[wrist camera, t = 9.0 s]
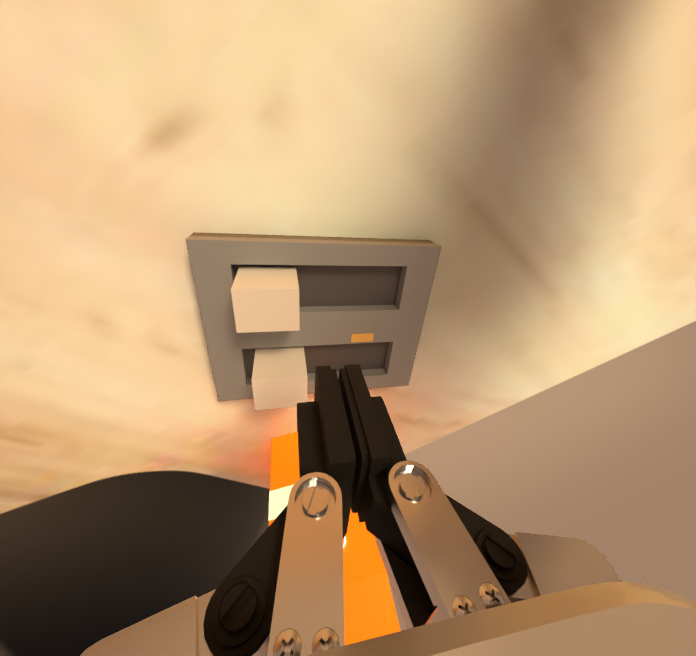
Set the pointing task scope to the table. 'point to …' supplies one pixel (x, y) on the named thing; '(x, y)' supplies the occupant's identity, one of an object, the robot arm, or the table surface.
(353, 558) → the orange juice
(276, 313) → the tab
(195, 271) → the switch board
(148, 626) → the robot arm
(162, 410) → the table surface
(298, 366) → the tab
